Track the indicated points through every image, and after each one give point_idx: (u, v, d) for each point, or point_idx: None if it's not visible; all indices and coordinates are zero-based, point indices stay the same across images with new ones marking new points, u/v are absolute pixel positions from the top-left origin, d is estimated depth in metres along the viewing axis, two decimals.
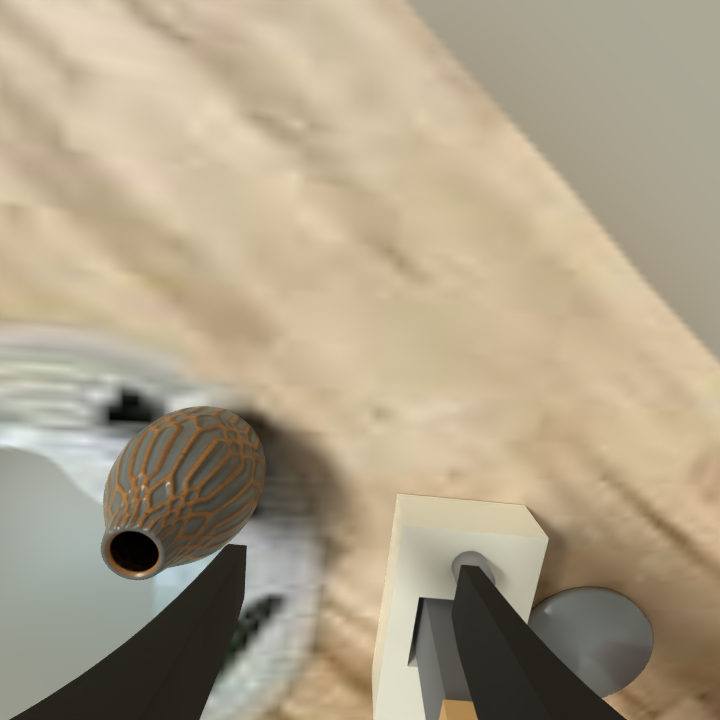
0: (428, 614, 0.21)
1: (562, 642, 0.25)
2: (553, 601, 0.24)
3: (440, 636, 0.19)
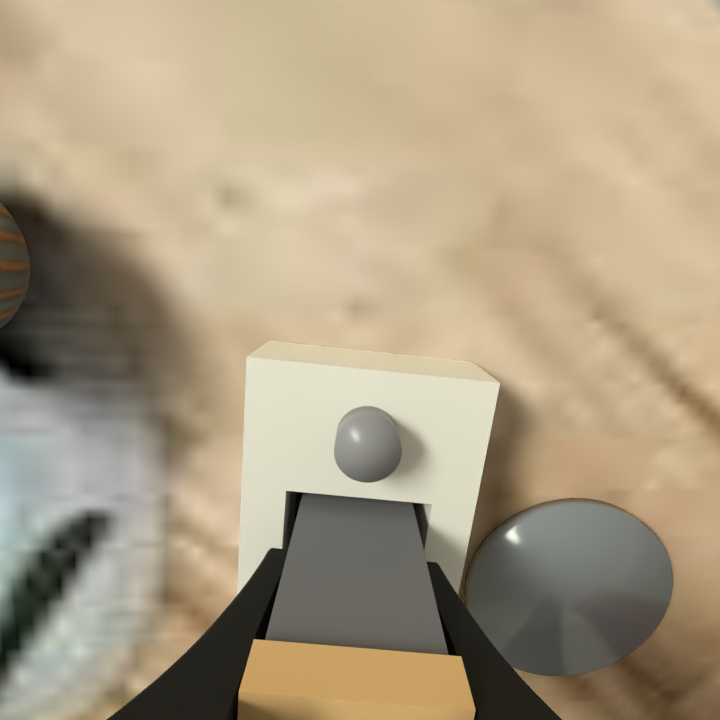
0: (297, 516, 0.12)
1: (534, 584, 0.16)
2: (520, 519, 0.16)
3: (303, 544, 0.11)
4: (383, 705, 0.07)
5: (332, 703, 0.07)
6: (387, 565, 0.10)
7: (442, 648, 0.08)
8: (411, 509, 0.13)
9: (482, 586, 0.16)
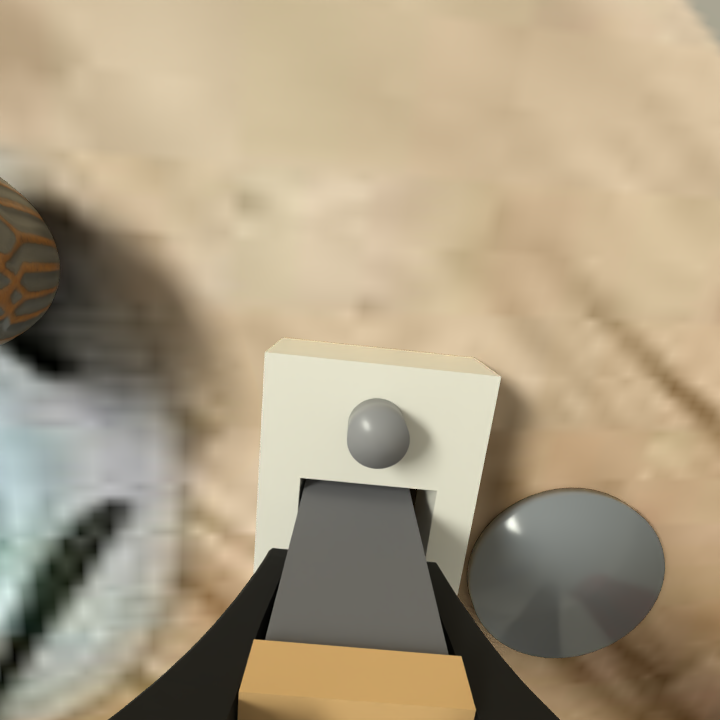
0: (297, 516, 0.12)
1: (533, 569, 0.17)
2: (519, 508, 0.17)
3: (303, 544, 0.11)
4: (383, 706, 0.07)
5: (332, 703, 0.07)
6: (387, 565, 0.10)
7: (442, 647, 0.08)
8: (411, 509, 0.13)
9: (483, 572, 0.17)
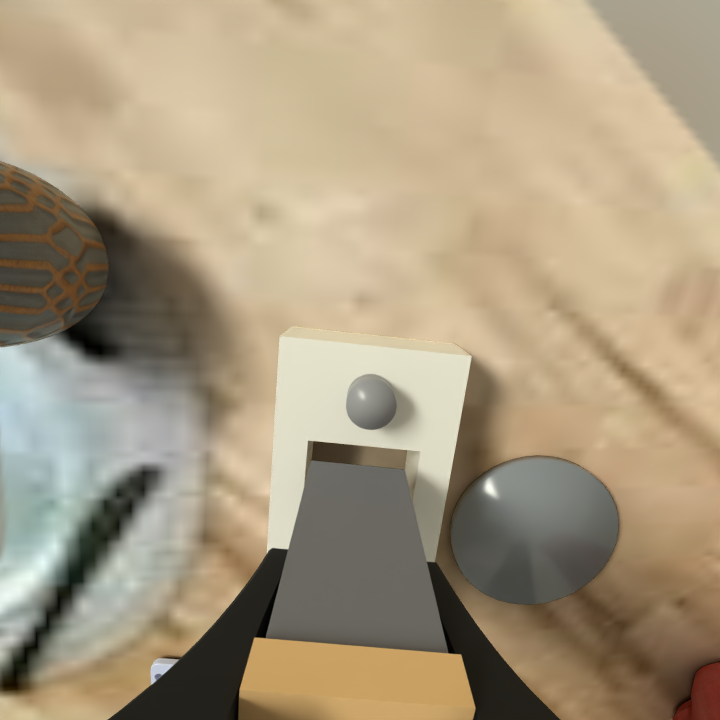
0: (297, 515, 0.12)
1: (506, 526, 0.20)
2: (493, 472, 0.20)
3: (303, 543, 0.11)
4: (383, 704, 0.07)
5: (332, 701, 0.07)
6: (387, 564, 0.10)
7: (442, 646, 0.08)
8: (411, 508, 0.13)
9: (463, 527, 0.20)
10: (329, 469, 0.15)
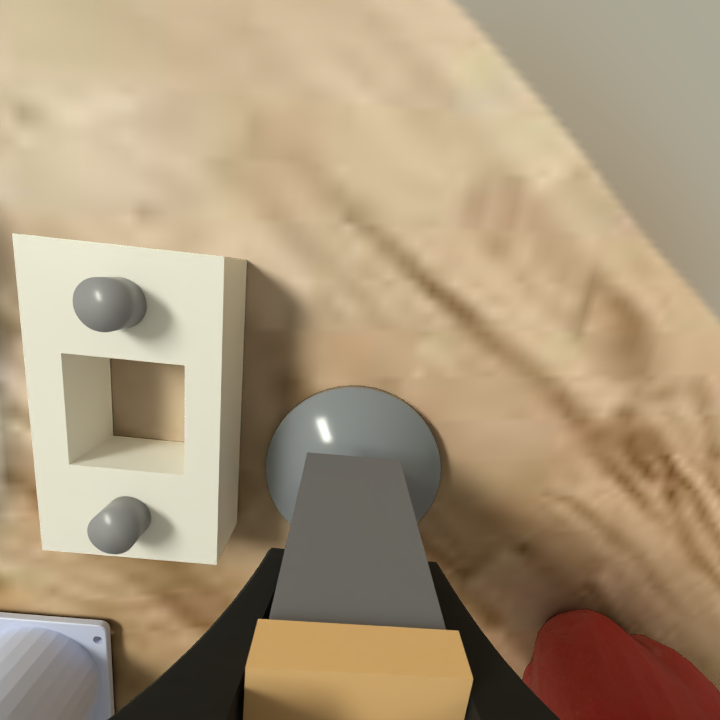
0: (296, 504, 0.12)
1: None
2: (302, 402, 0.18)
3: (302, 530, 0.11)
4: (385, 677, 0.07)
5: (336, 676, 0.07)
6: (385, 549, 0.11)
7: (440, 624, 0.09)
8: (407, 496, 0.13)
9: (275, 463, 0.19)
10: (325, 460, 0.15)
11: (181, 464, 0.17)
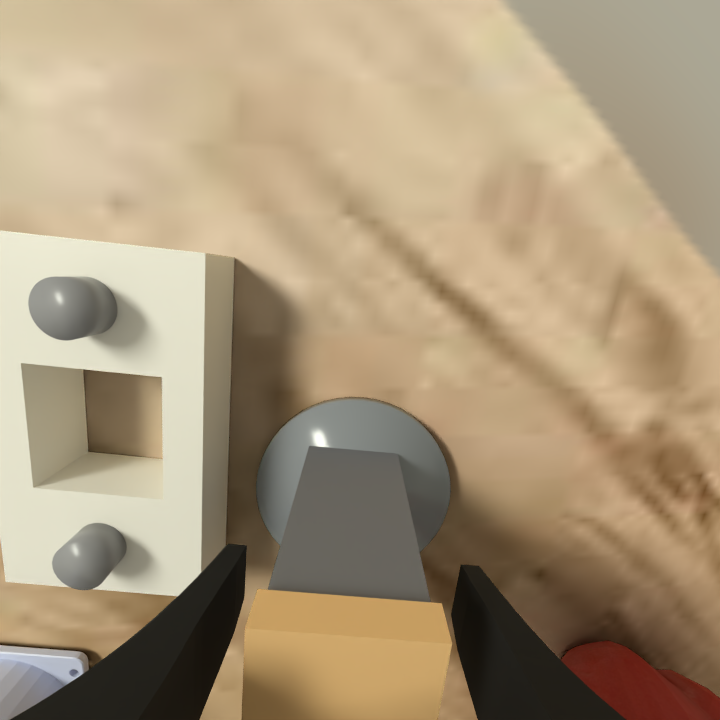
0: (296, 492, 0.13)
1: None
2: (297, 416, 0.17)
3: (301, 515, 0.12)
4: (371, 640, 0.08)
5: (326, 638, 0.08)
6: (378, 532, 0.11)
7: (425, 597, 0.09)
8: (402, 486, 0.14)
9: (267, 483, 0.17)
10: (326, 453, 0.16)
11: (161, 486, 0.15)
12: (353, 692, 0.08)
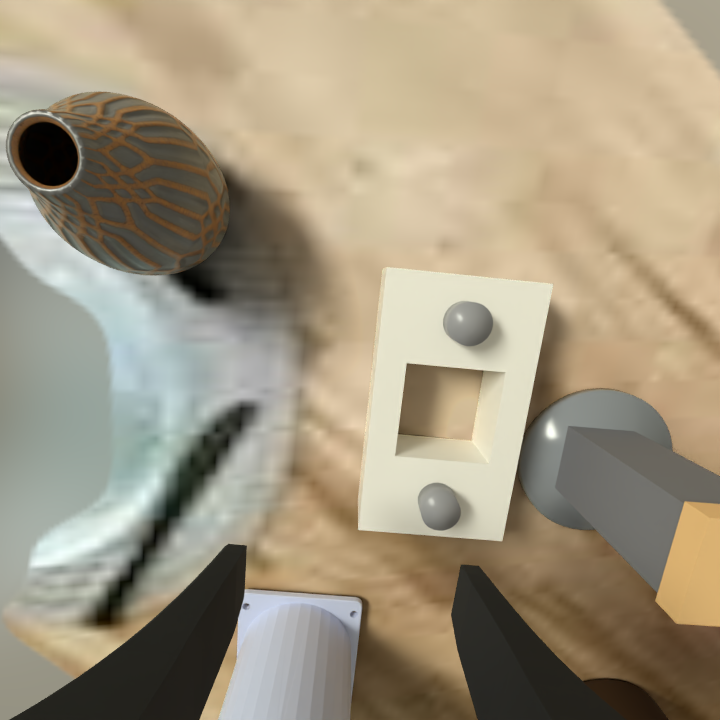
0: (609, 454, 0.18)
1: None
2: (559, 403, 0.22)
3: (636, 466, 0.17)
4: None
5: None
6: (699, 476, 0.16)
7: None
8: (671, 451, 0.19)
9: (531, 455, 0.22)
10: (588, 430, 0.21)
11: (474, 456, 0.20)
12: None
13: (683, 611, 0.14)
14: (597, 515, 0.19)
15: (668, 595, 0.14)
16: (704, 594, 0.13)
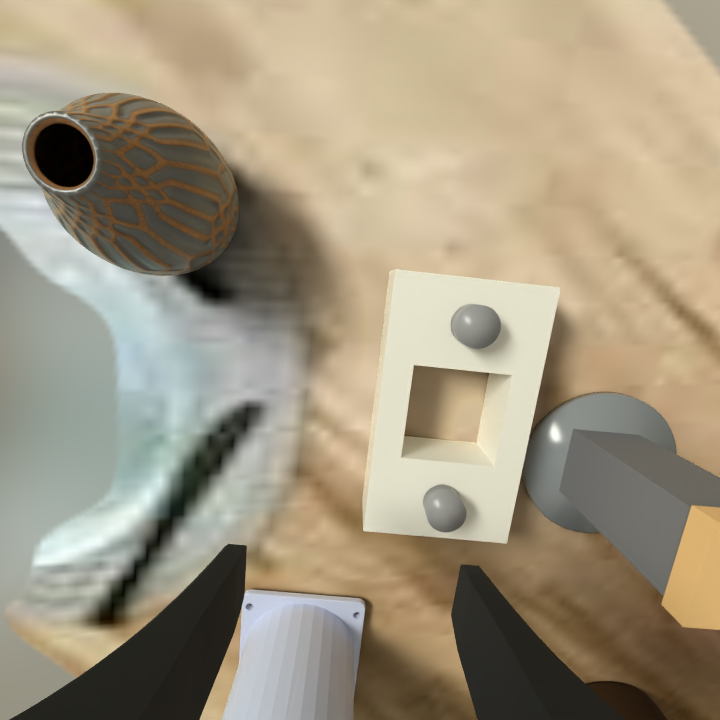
0: (614, 457, 0.18)
1: None
2: (564, 406, 0.22)
3: (642, 470, 0.17)
4: None
5: None
6: (704, 480, 0.17)
7: None
8: (676, 455, 0.19)
9: (536, 458, 0.22)
10: (592, 434, 0.21)
11: (479, 458, 0.20)
12: None
13: (690, 614, 0.14)
14: (602, 518, 0.19)
15: (674, 598, 0.14)
16: (711, 598, 0.13)
